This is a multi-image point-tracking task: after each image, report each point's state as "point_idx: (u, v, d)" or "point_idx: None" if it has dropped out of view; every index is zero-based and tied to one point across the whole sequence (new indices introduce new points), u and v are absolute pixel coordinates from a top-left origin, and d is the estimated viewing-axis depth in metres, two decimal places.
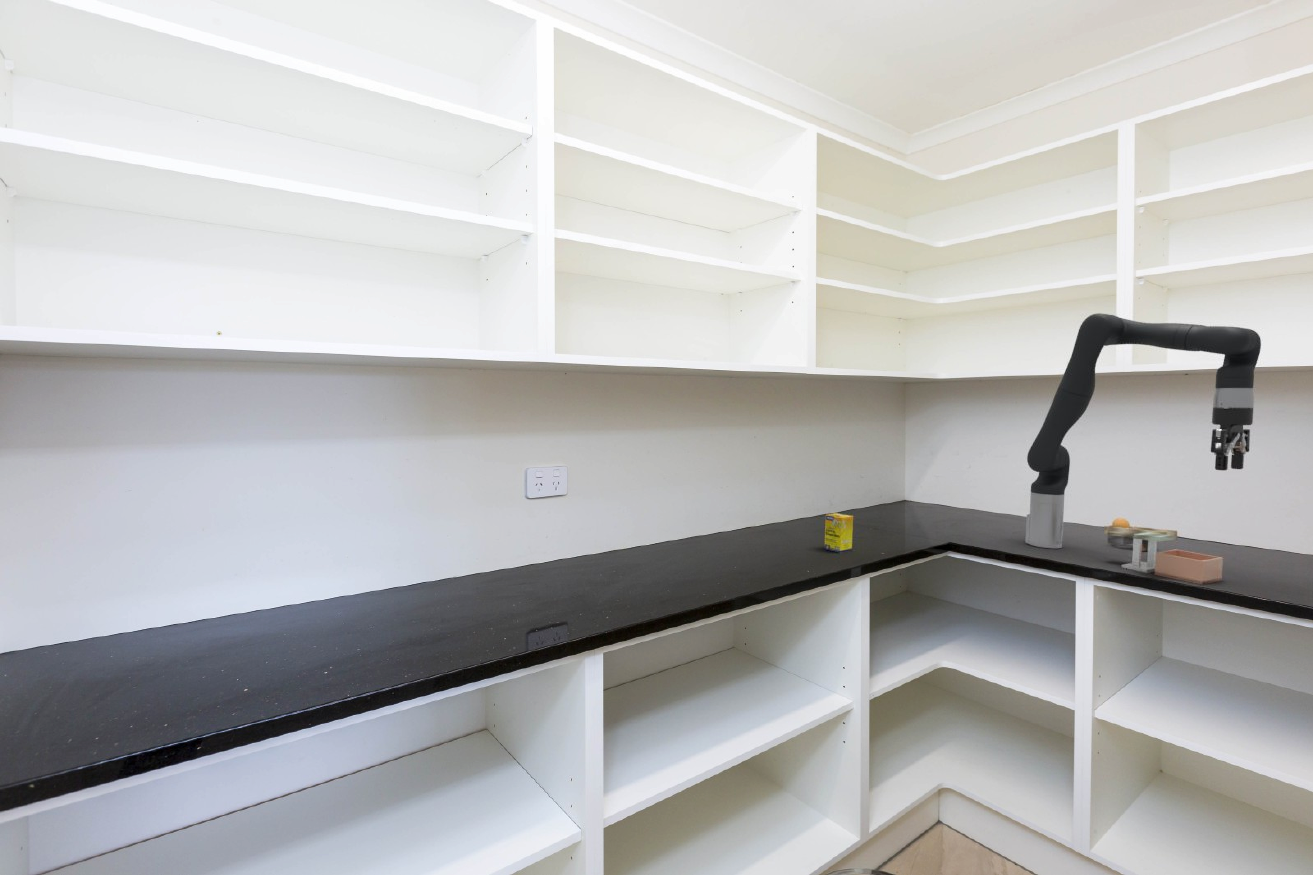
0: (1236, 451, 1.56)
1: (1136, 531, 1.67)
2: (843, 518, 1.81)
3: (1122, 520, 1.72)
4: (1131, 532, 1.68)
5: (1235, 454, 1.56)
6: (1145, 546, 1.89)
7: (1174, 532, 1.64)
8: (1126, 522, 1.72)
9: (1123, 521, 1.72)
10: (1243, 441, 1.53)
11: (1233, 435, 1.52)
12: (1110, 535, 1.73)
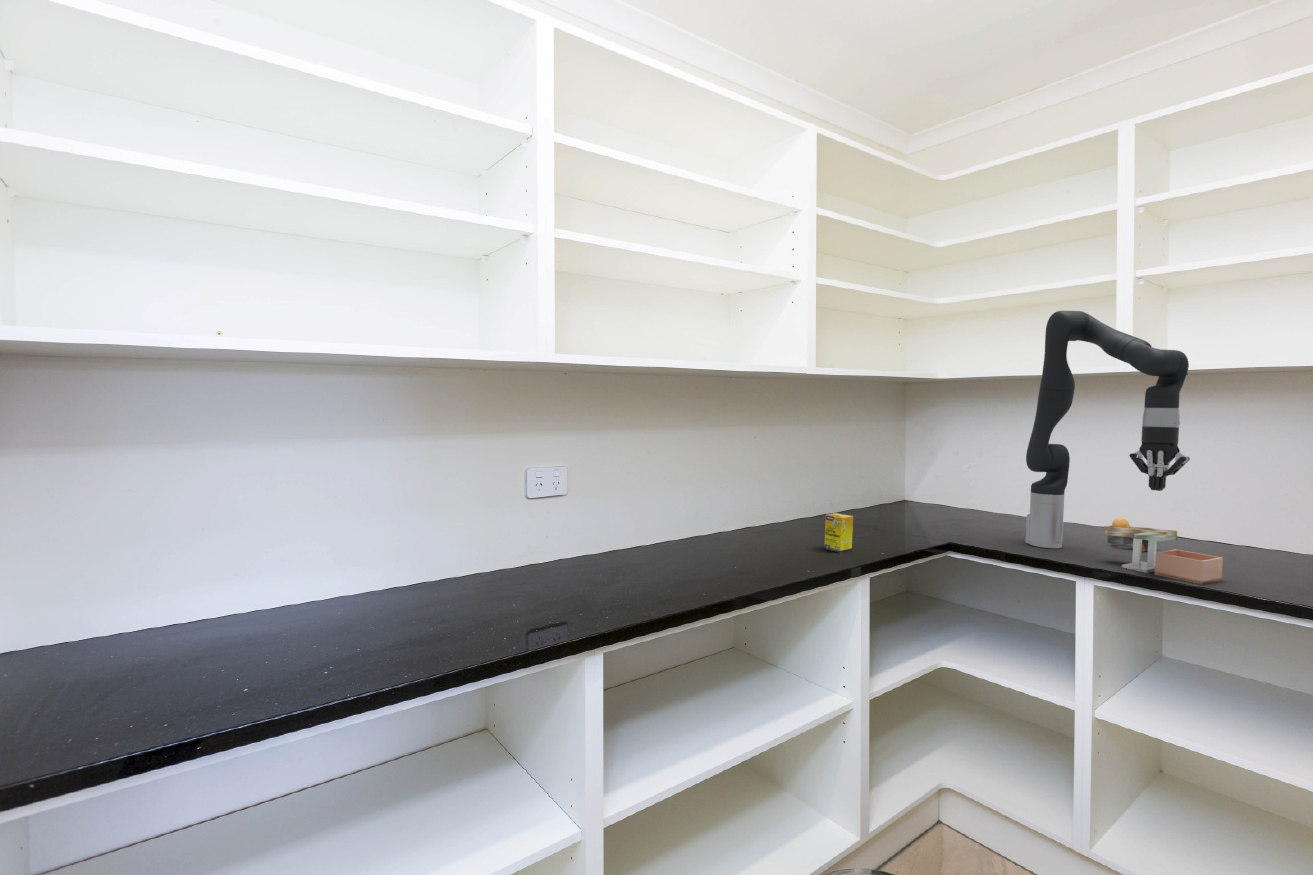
0: (1155, 473, 1.60)
1: (1136, 531, 1.67)
2: (843, 518, 1.81)
3: (1122, 520, 1.72)
4: (1131, 532, 1.68)
5: (1155, 476, 1.60)
6: (1146, 546, 1.89)
7: (1174, 532, 1.64)
8: (1126, 522, 1.72)
9: (1123, 521, 1.72)
10: None
11: None
12: (1110, 535, 1.73)
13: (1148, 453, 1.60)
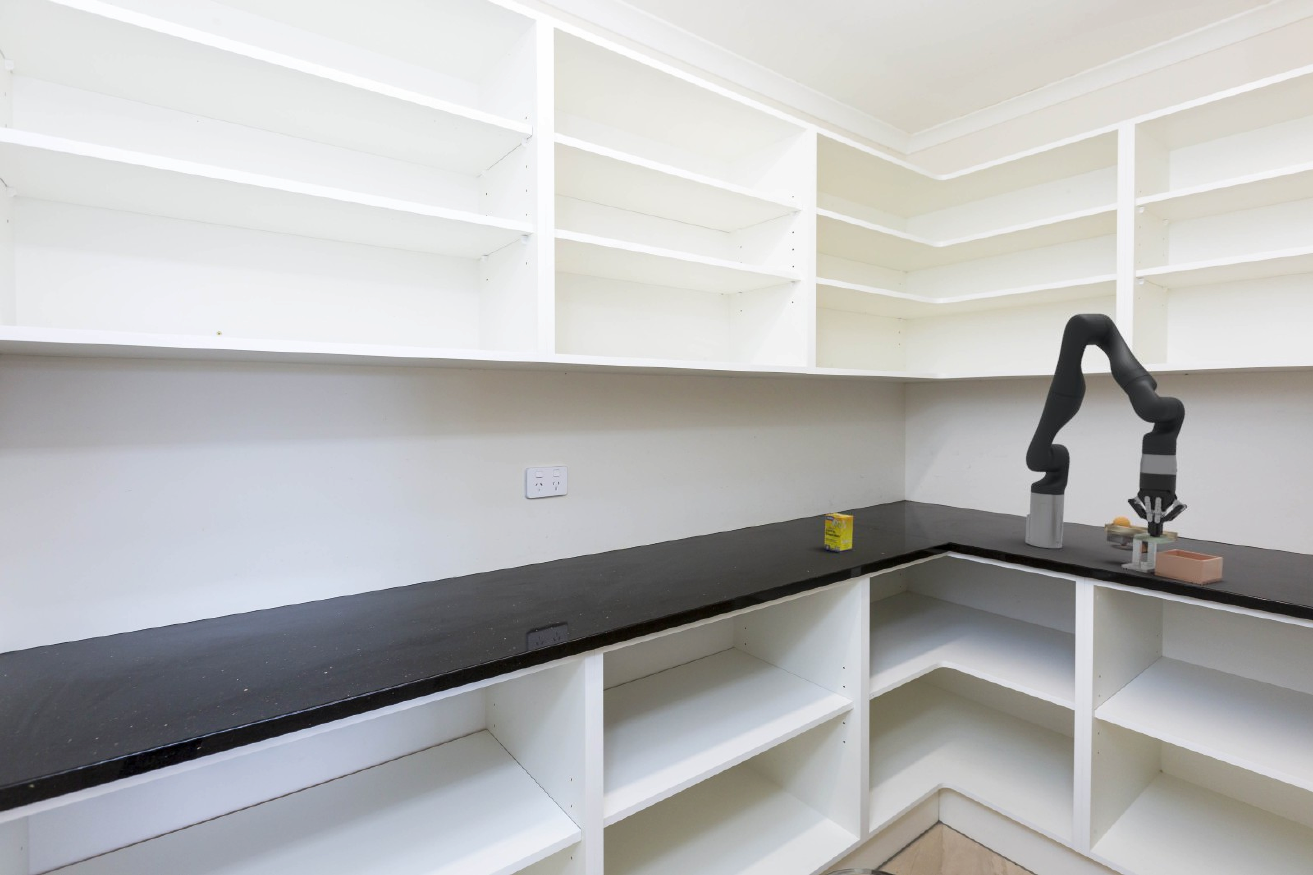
0: (1154, 519, 1.60)
1: (1136, 531, 1.67)
2: (843, 518, 1.81)
3: (1123, 519, 1.72)
4: (1131, 532, 1.68)
5: (1154, 522, 1.60)
6: (1146, 547, 1.88)
7: (1174, 534, 1.64)
8: (1127, 521, 1.72)
9: (1124, 519, 1.72)
10: None
11: None
12: (1110, 533, 1.73)
13: (1146, 499, 1.60)
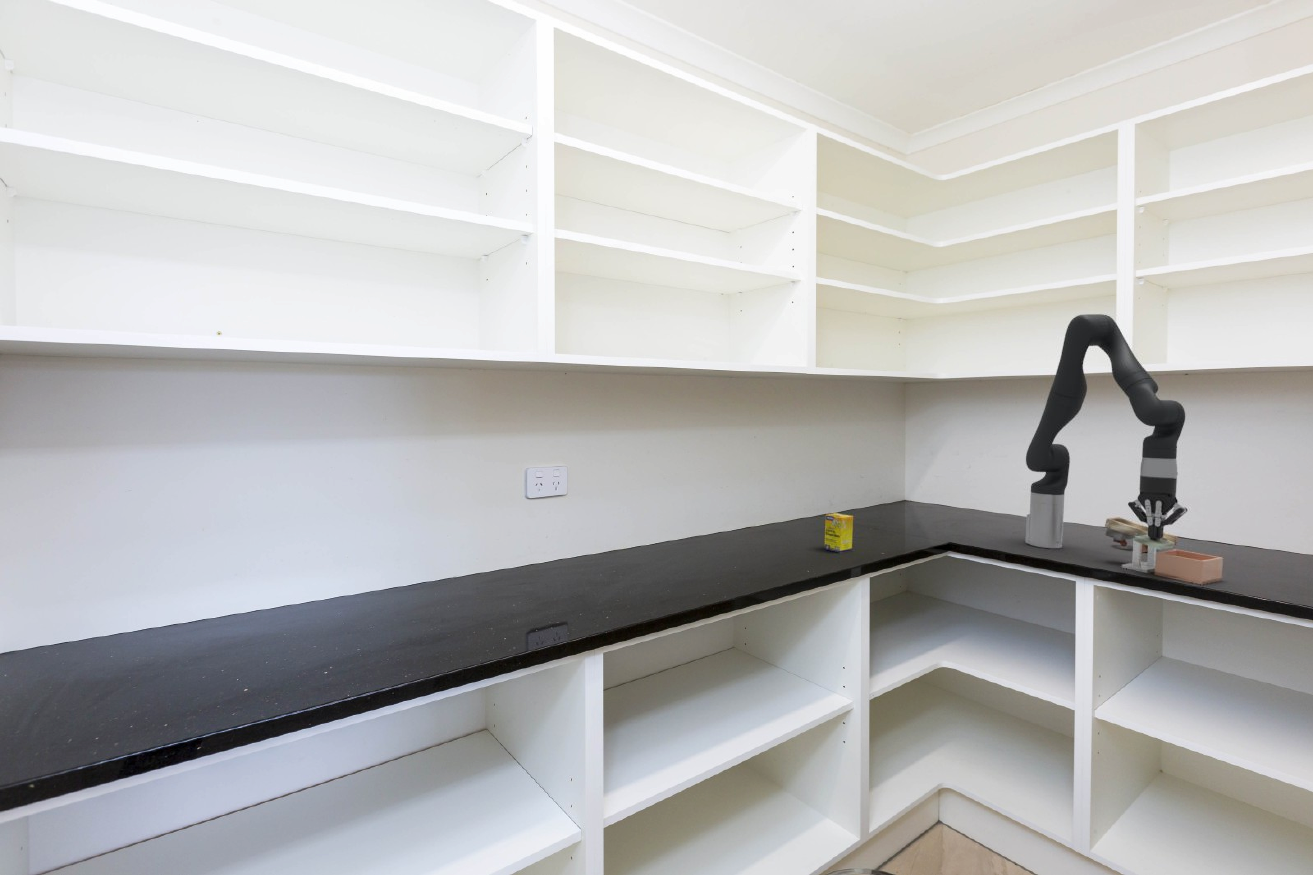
0: (1154, 522, 1.60)
1: (1137, 531, 1.67)
2: (843, 518, 1.81)
3: None
4: (1132, 531, 1.68)
5: (1154, 525, 1.60)
6: (1147, 547, 1.88)
7: (1175, 538, 1.64)
8: None
9: None
10: None
11: None
12: (1110, 528, 1.73)
13: (1146, 502, 1.60)
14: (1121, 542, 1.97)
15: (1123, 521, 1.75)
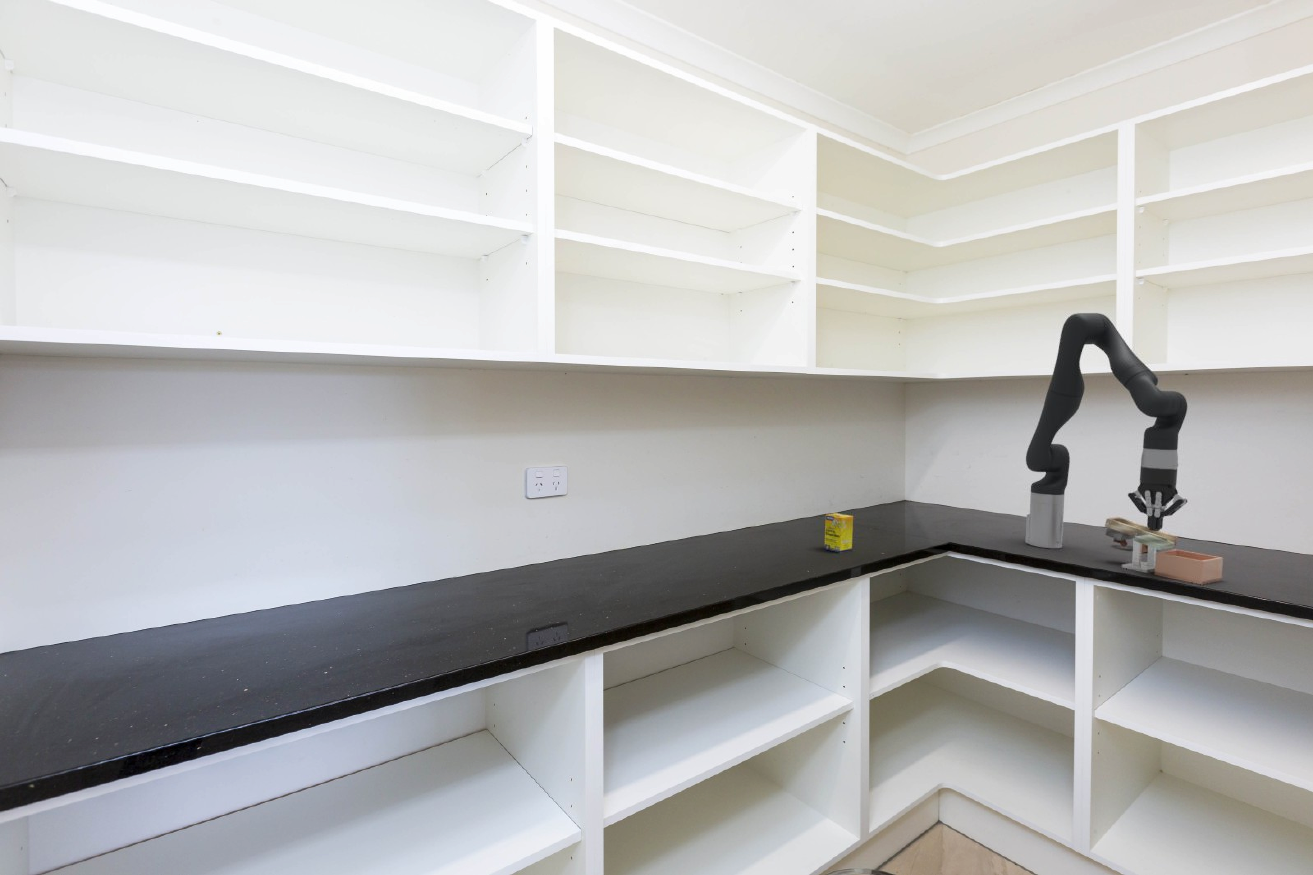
0: (1153, 513, 1.60)
1: (1137, 531, 1.67)
2: (843, 518, 1.81)
3: None
4: (1132, 531, 1.68)
5: (1153, 516, 1.60)
6: (1147, 547, 1.88)
7: (1175, 538, 1.64)
8: None
9: None
10: None
11: None
12: (1110, 528, 1.73)
13: (1146, 493, 1.60)
14: (1121, 542, 1.97)
15: (1123, 521, 1.75)
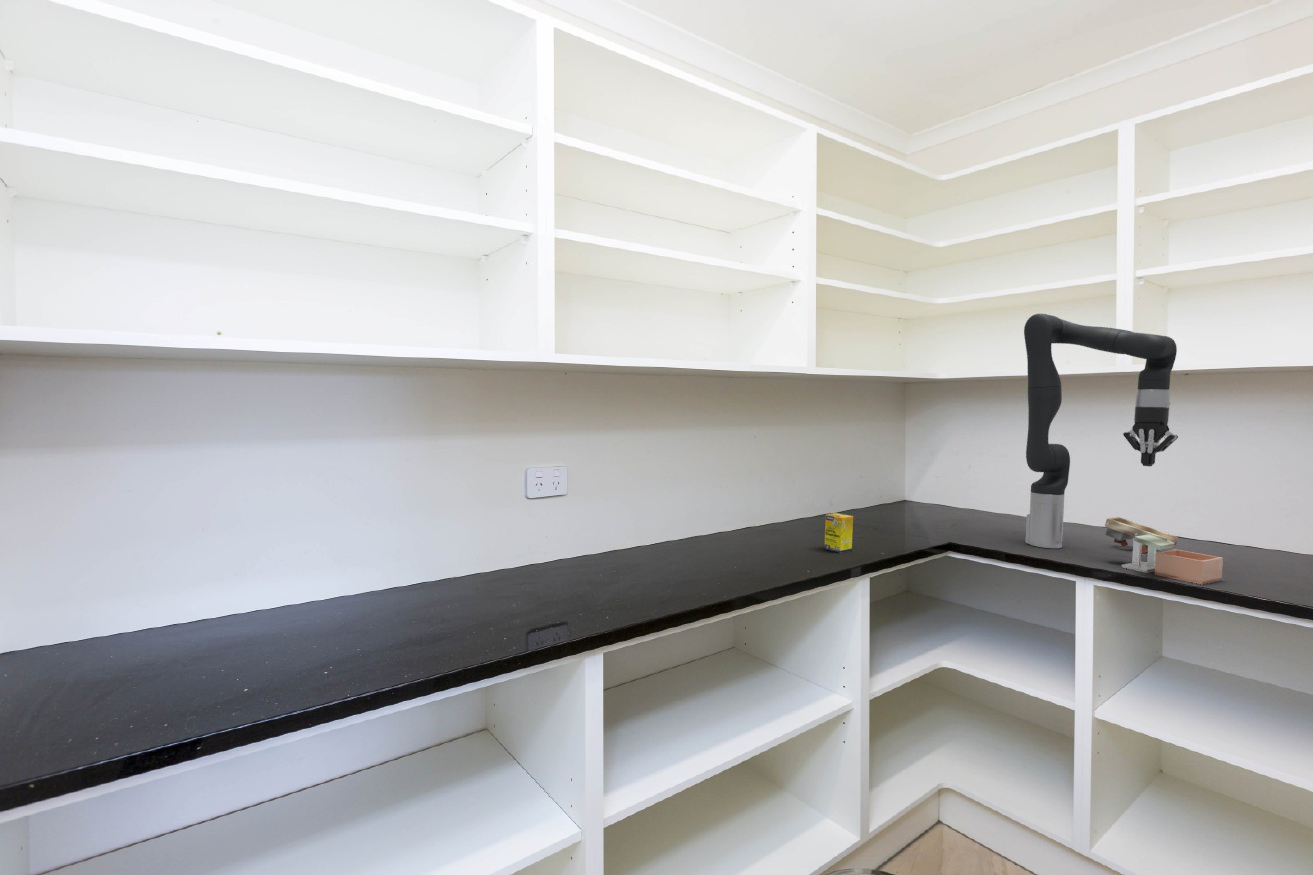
0: (1147, 450, 1.72)
1: (1137, 531, 1.67)
2: (843, 518, 1.81)
3: None
4: (1132, 531, 1.68)
5: (1147, 453, 1.72)
6: None
7: (1175, 538, 1.64)
8: None
9: None
10: None
11: None
12: (1110, 528, 1.73)
13: (1140, 431, 1.72)
14: (1122, 542, 1.96)
15: (1123, 521, 1.75)
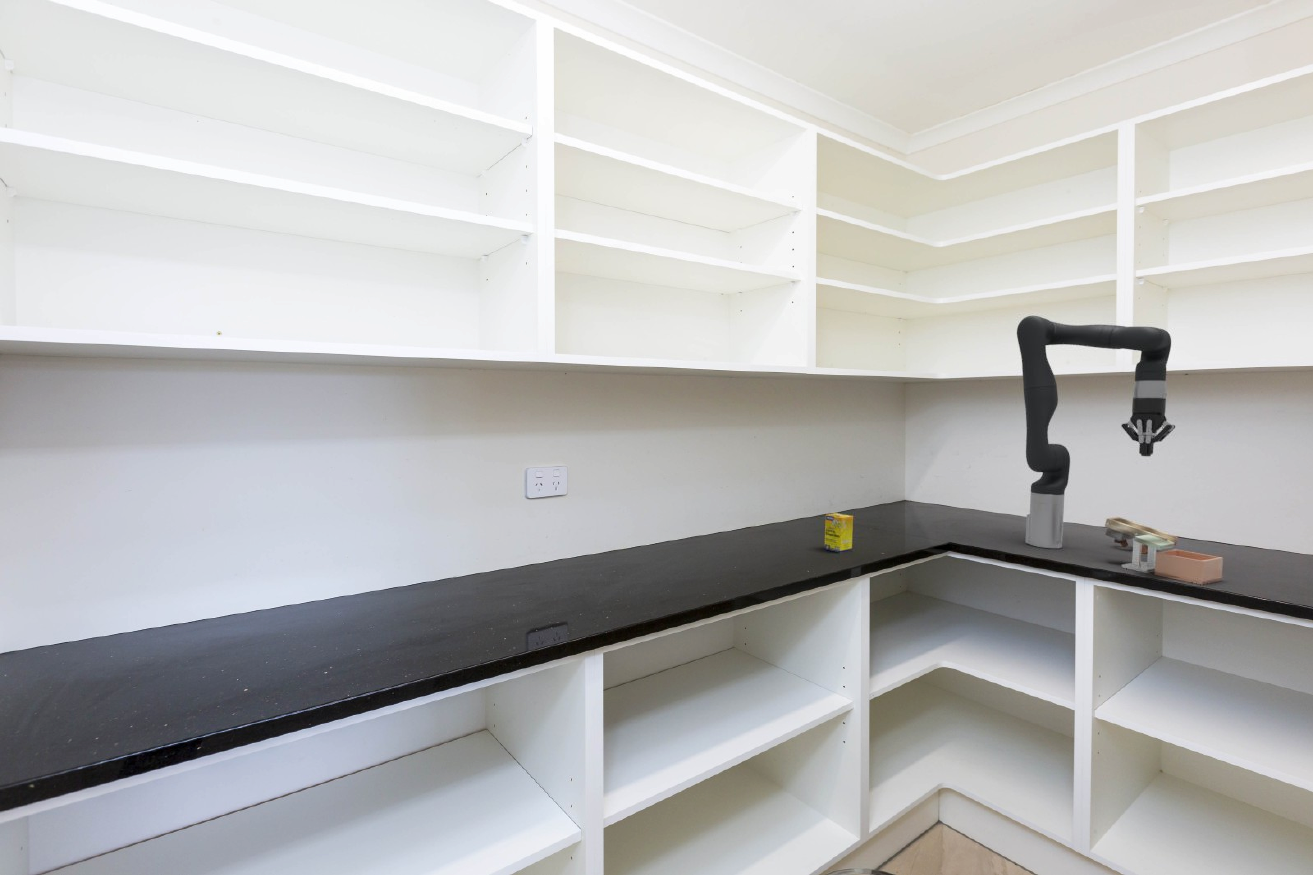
0: (1145, 440, 1.75)
1: (1137, 531, 1.67)
2: (843, 518, 1.81)
3: None
4: (1132, 531, 1.68)
5: (1145, 443, 1.75)
6: None
7: (1175, 538, 1.64)
8: None
9: None
10: None
11: None
12: (1110, 528, 1.73)
13: (1138, 422, 1.75)
14: (1122, 543, 1.96)
15: (1123, 521, 1.75)
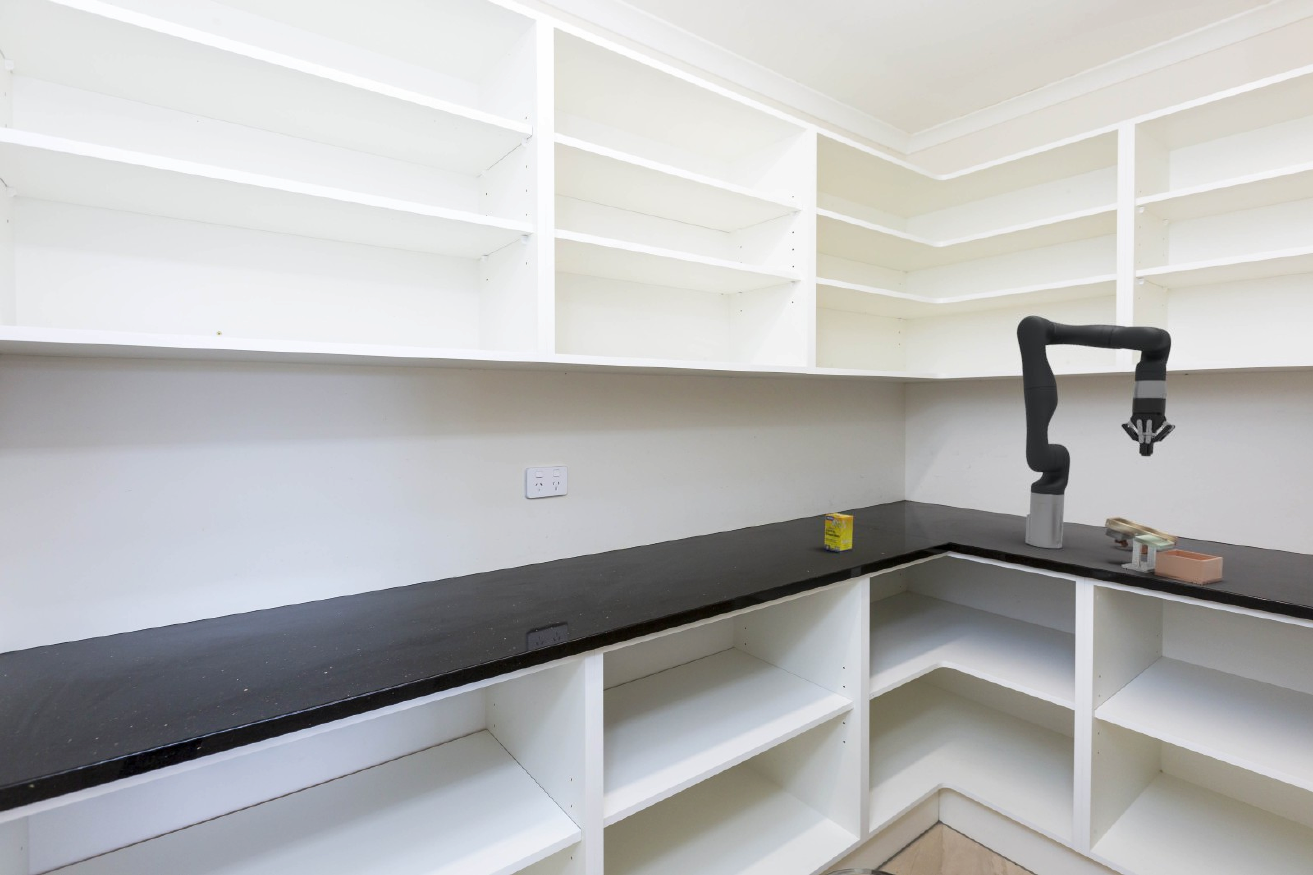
0: (1145, 440, 1.75)
1: (1137, 531, 1.67)
2: (843, 518, 1.81)
3: None
4: (1132, 531, 1.68)
5: (1145, 443, 1.75)
6: None
7: (1175, 538, 1.64)
8: None
9: None
10: None
11: None
12: (1110, 528, 1.73)
13: (1138, 422, 1.75)
14: (1122, 543, 1.96)
15: (1123, 521, 1.75)
